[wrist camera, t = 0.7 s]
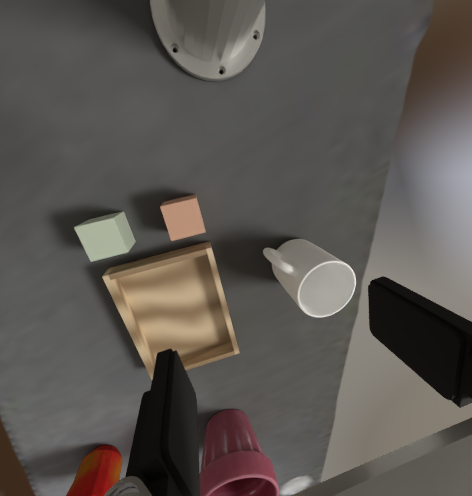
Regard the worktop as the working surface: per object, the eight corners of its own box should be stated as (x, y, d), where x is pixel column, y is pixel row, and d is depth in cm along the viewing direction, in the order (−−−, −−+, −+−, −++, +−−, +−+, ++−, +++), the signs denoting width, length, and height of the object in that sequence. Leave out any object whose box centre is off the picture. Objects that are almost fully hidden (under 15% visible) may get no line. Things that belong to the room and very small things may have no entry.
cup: (299, 288, 41) (332, 324, 31) (242, 263, 37) (261, 296, 28) (324, 249, 39) (367, 275, 30) (268, 219, 35) (297, 237, 26)
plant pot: (188, 409, 45) (189, 494, 33) (256, 392, 47) (279, 467, 35) (198, 453, 50) (201, 541, 38) (259, 436, 52) (280, 514, 40)
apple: (74, 465, 44) (37, 563, 33) (88, 435, 42) (53, 529, 31) (120, 468, 47) (99, 560, 36) (134, 440, 45) (117, 528, 34)
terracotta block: (163, 201, 31) (160, 206, 27) (195, 194, 32) (196, 197, 28) (173, 231, 33) (171, 241, 29) (203, 224, 34) (205, 232, 29)
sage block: (89, 219, 30) (73, 227, 26) (123, 211, 31) (113, 217, 27) (103, 249, 32) (90, 261, 28) (135, 241, 32) (127, 252, 28)
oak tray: (109, 267, 33) (101, 276, 30) (209, 241, 34) (211, 247, 32) (155, 366, 40) (152, 381, 37) (236, 340, 42) (239, 353, 39)
